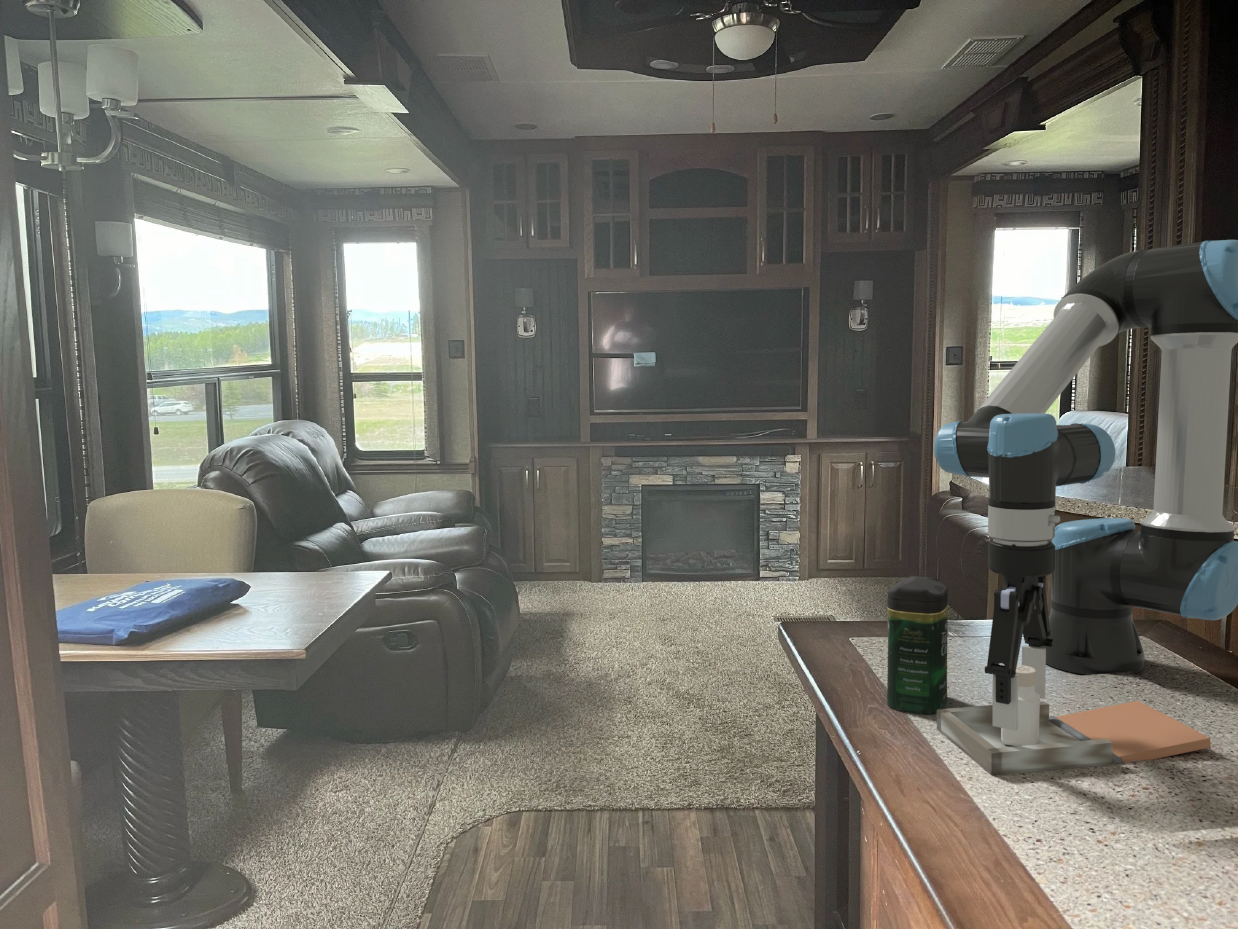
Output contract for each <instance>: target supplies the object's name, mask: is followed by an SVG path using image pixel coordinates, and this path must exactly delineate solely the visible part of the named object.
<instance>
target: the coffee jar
mask: <svg viewBox="0 0 1238 929" xmlns="http://www.w3.org/2000/svg"><path fill="white" fill-rule="evenodd" d="M948 592H949V590H948V588H947V586H946V585H945V584H944V583H942V581H940V580H939V579H938V578H934V577H927V576H914V575H909V576H908V578H905V579H903V580H900V581H899V582H896V583H895V584H893V585H892V586H891V587H890V588H889V589H888V591H887V603H886V605H887V608H886V609H887V676H886V677H887V678H886V681H887V682H886V683H887V685H886V704H887V707H888V708H889V709H892V710H894V711H897V712H902V713H907V714H913V715H914V714H915V715H923V716H924V715H928V716H930V715H931V716H932V715H937V709H945V707H946V706H947V702H948V625H949V624H948V621H949V618H948V616H949V615H948V614H949V600H948V599H949V598H948V597H949V596H948V594H949V593H948Z"/></svg>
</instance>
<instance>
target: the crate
mask: <svg viewBox="0 0 1238 929" xmlns="http://www.w3.org/2000/svg"><path fill="white" fill-rule="evenodd" d="M1049 717H1050V704H1049V703H1048V702H1047V701H1045V700H1040V714H1039V738H1038V741H1037V744H1036V745H1026V746H1012V745H1006V744H1004V743H1003V742H1002V740H1001V728H1000V727H995V726H992V724H993V704H989V705H977V706H976V705H975V706H965V707H964V706H963V707H952V708H951V707H950V708H944V709H937V714H936V730H937V731H938V732H939V733H940V734H941V735H942V736H943V737H945V738H946V739H947V740H948V741H950V742H951V743H952V744H953V745H954V746H955V747H956V748H958V749H959V750H960V751H962V753H964V754H965V755H966V756H968V757H969V758H970V760H972V761H974V763H976V764H977V765H978V766H980V767H981V768H982V769H983V770H985V771H986V773H988V774H989V775H991V776H1004V775H1013V774H1015V775H1016V774H1027V773H1035V772H1036V773H1038V772H1048V771H1049V772H1050V771H1058V770H1059V771H1060V770H1072V769H1081V768H1082V769H1083V768H1084V769H1085V768H1096V767H1105V766H1113V763H1112V742H1110V741H1109V740H1107V739H1097V740H1085V741H1079V740H1078V739H1076V738H1075V737H1073V736H1072V735H1070V734H1068V733H1067V732H1065V731H1064V730H1062V729H1061V728H1059V727H1058V726H1056V725H1054V724H1053V723H1051V722H1050V721H1049Z"/></svg>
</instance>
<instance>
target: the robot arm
mask: <svg viewBox="0 0 1238 929" xmlns="http://www.w3.org/2000/svg"><path fill="white" fill-rule="evenodd" d="M1141 328H1142V329H1147V328H1148V329H1149V328H1150V340H1151V341H1153V343H1154V344H1155V345H1156V346H1157V347H1159V349H1160V350H1161V358H1160V361H1161V362H1160V377H1159V394H1158V396H1159V397H1158V398H1159V399H1158V416H1157V417H1158V419H1157V434H1156V436H1157V437H1156V438H1157V439H1156V456H1155V474H1154V475H1155V477H1154V492H1153V494H1154V495H1153V496H1154V497H1153V510H1152V512H1151V513H1150V514H1148V515H1147V516H1146V517H1145V518H1143V519H1141V521H1140V530H1135V529H1136V524H1135V521H1134V520H1132V519H1131V518H1125V517H1124V518H1123V517H1104V518H1089V519H1079V520H1072V521H1066V522H1062V523H1060V522H1061V517H1060V515H1058V514H1055V513H1056V496H1057V495H1056V493H1057V491H1056V490H1057V487H1061V486H1068V485H1069V486H1070V485H1074V484H1080V485H1081V484H1086V483H1090V482H1092V481H1094V480H1097V479H1099V478H1101V477H1103V476H1104V475H1107V473H1108V472H1109V471H1110V470H1111V469H1112V466H1113V465H1114V463H1115V458H1116V447H1115V444H1114V441H1113V439H1112V436H1110V434H1109V433H1108V432H1107V431H1106V430H1105V429H1103V428H1102V427H1100V426H1098V425H1096V424H1092V423H1083V422H1082V423H1078V422H1077V423H1076V422H1074V423H1073V422H1072V423H1071V424H1057V420H1056V418H1055V416H1054V415H1053V414H1049V413H1046V412H1048V411H1049V409H1050V408H1051V406H1052V405H1053V404H1054V403H1055V401H1056V400H1057V399H1058V398H1059V396H1061V395H1062V392H1064V390H1065V389H1066V388H1067V386H1068V385H1069V384H1070V382H1071V381H1073V379H1074V377H1075V376H1076V375H1077V374H1078V372H1079V371H1080V370H1081V369H1082V367H1084V365H1085V364H1086V363H1087V361H1088V360H1089V359H1090V358H1091V356H1092V355H1093V353H1095V351H1096V350H1097V349H1098V348H1099V347H1102V346H1105V345H1108V344H1109V343H1111V342H1112V341H1113V340H1114V339H1115V338H1116V336H1117V335H1118V334H1120V333H1121V332H1124V331H1125V332H1126V331H1128V330H1133V329H1141ZM1236 344H1238V239H1225V240H1224V239H1223V240H1222V239H1221V240H1204V241H1199V242H1193V243H1192V242H1191V243H1185V244H1184V243H1183V244H1179V245H1173V246H1164V247H1158V248H1150V249H1140V250H1134V251H1129V252H1127V253H1123V254H1120V255H1119V256H1116V257H1114V258H1111V259H1110V260H1108V261H1107V262H1104V263H1103V264H1101V265H1099V266H1098V267H1096V268H1095V269H1094V270H1092V271H1090V272H1089V273H1088V274H1086V276H1084V277H1083V278H1081V279H1080V280H1079V281H1077V283H1076V284H1074V285H1073V286H1072V287H1071V288H1070V289H1069V290H1068V291H1067V292H1066V293H1065V294H1064V295H1063V297H1062V298H1061V299H1060V300H1059V301H1058V302H1057V304H1056V305H1055V307H1054V310H1053V319H1052V321H1051V322H1050V323H1049V324H1048V325H1047V326H1046V327H1045V329H1043V331H1042V332H1041V334H1039V336H1038V337H1037V338H1036V339H1035V341H1034V342H1033V343H1032V344H1031V345H1030V346H1029V348H1028V349H1027V350H1026V351H1025V352H1024V354H1023V355H1022V356H1021V358H1020V359H1019V360H1018V361H1017V362H1016V363H1015V365H1014V366H1013V367H1012V368H1011V369H1010V370H1009V371H1008V372H1007V374H1006V375H1005V376H1004V378H1003V379H1002V380H1001V382H999V384H997V386H996V387H995V388H994V390H993V391H991V393H990V394H989V396H987V398H986V399H985V400H984V402H983V403H982V404H981V405H980V406H979V407H978V408H977V410H976V411H975V412H974V414H972V416H971V417H970V418H969V419H968V420H967V421H963V420H958V421H954V422H948V423H946V424H944V425H942V427H940V428H939V430H938V432H937V434H936V436H935V439H934V443H933V446H934V447H933V453H934V458H935V460H936V463H937V465H938V467H939V468H940V469H942V470H943V471H944V472H946V473H948V474H953V475H958V476H965V477H967V478H968V477H969V478H972V477H973V478H985V479H986V478H988V496H989V497H988V506H987V509H988V510H987V535H988V536H989V537H990V538H992V539H990V541H989V542H987V543H988V544H987V547H988V548H987V567H988V569H989V570H990V571H992V573H995V574H1000V575H1002V576H1003V579H1004V580H1003V586H1001V587H1000V588H999V589H995V590H994V592H993V614H992V621H991V622H992V623H991V630H990V639H989V647H988V655H987V663H986V666H984V673H985V674H989V675H992V705H993V724H992V726H995V727H1000V728H1005V729H1010V730H1015V731H1017V729H1018V675H1016V668H1017V665H1018V662H1019V657H1020V656H1019V655H1020V651H1021V665H1024V666H1029V667H1032V668H1034V669H1035V670H1036V680H1035V681H1036V686H1035V693H1037V694H1039V695H1040V700H1041V699H1043V700H1044V699H1045V698H1046V668H1047V666H1046V665H1048V666H1050V667H1052V668H1055V669H1058V670H1061V671H1065V672H1070V673H1074V674H1080V675H1087V676H1093V675H1106V674H1118V673H1119V674H1121V673H1131V674H1132V675H1134V674H1138V673H1140V672H1142V671H1143V670H1144V669H1145V653H1144V648H1143V645H1142V643H1141V640H1140V637H1139V635H1138V632H1137V628H1136V625H1135V623H1134V618H1133V607H1134V608H1137V609H1138V608H1139V609H1144V610H1151V611H1155V612H1160V613H1166V614H1171V615H1175V616H1181V617H1183V618H1185V619H1198V620H1199V619H1200V620H1206V621H1217V620H1221V619H1223V618H1226V617H1227V616H1228V615H1229V614H1231V613H1232V612H1233V611H1234V610H1235V609H1236V607H1237V606H1238V541H1237V540H1234V538H1235V527H1234V526H1233V525H1232V524H1231V523H1230V522H1229V520H1227V519H1226V518H1225V517H1224V515H1223V508H1224V491H1225V476H1226V475H1225V472H1226V457H1227V456H1226V455H1227V437H1228V420H1229V419H1228V418H1229V404H1230V402H1229V401H1230V385H1231V370H1232V350H1233V348H1234V347H1235V345H1236ZM1056 524H1058V525H1056ZM1049 575H1050V595H1051V596H1050V613H1049V608H1048V607H1049V606H1048V597H1047V587H1046V584H1047V583H1046V578H1047V576H1049ZM1023 640H1024V644H1023V645H1022V641H1023Z"/></svg>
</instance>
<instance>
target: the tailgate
mask: <svg viewBox="0 0 1238 929" xmlns="http://www.w3.org/2000/svg"><path fill="white" fill-rule="evenodd" d="M1049 721H1050V722H1051V723H1053V724H1054V725H1056V726H1058V727H1059V728H1061V729H1062V730H1064V731H1065V732H1067V733H1068V734H1070V735H1072V736H1073V737H1075V738H1076V739H1078V740H1079V741H1085V740H1097V739H1107V740H1109V741H1110V742H1112V764H1120V763H1122V764H1123V763H1124V762H1133V761H1134V762H1135V761H1137V762H1138V761H1145V760H1147V761H1148V760H1154V759H1155V760H1157V759H1161V758H1167V757H1171V756H1176V755H1179V754H1184V753H1190V752H1191V753H1192V752H1194V751H1195V752H1196V751H1199V750H1204V749H1205V750H1206V749H1210V748H1211V747H1212V746H1211V738H1210V737H1209V736H1207V735H1205V734H1203V733H1201V732H1200V731H1197V730H1196V729H1193V728H1191V727H1190V726H1188V725H1186V724H1184V723H1182V722H1180V721H1178V720H1176V719H1174V718H1173V717H1170V716H1169V715H1167V714H1164V713H1162V712H1161V711H1159V710H1157V709H1155V708H1153V707H1151V706H1149V705H1147V704H1145V703H1144V702H1141V701H1140V700H1136V701H1129V702H1125V703H1118V704H1114V705H1109V706H1103V707H1097V708H1094V709H1090V710H1084V711H1078V712H1074V713H1068V714H1064V715H1059V716H1055V715H1051V716H1049Z"/></svg>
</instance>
